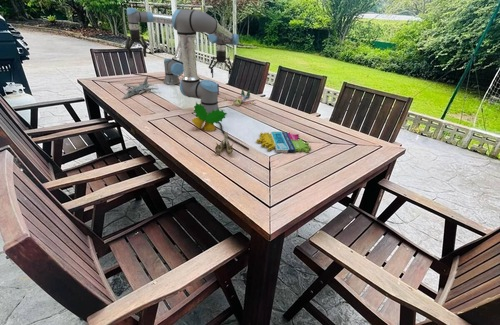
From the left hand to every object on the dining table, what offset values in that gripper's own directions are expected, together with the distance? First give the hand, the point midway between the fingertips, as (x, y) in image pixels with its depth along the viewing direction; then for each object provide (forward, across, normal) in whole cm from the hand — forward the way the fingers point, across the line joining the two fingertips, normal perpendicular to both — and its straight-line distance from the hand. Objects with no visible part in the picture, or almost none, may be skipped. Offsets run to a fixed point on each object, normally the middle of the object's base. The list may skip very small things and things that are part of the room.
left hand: (138, 57), depth 224 cm
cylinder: (+27, +35, -56) cm, 71 cm away
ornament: (+27, -28, -108) cm, 115 cm away
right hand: (+10, +30, -67) cm, 74 cm away
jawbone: (+27, -46, -136) cm, 146 cm away
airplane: (+27, -10, -10) cm, 30 cm away
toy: (+27, +35, -87) cm, 97 cm away
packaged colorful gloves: (+27, -15, -154) cm, 157 cm away
